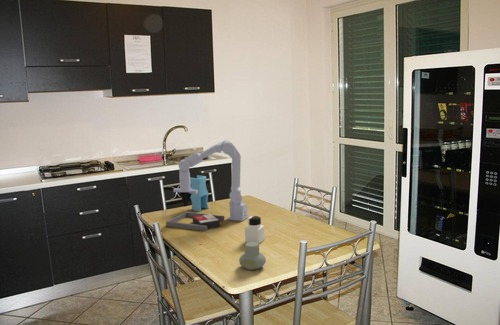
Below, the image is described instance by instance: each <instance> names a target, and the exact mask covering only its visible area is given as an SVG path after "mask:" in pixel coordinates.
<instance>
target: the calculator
mask: <svg viewBox="0 0 500 325" xmlns="http://www.w3.org/2000/svg"><path fill="white" fill-rule="evenodd" d="M208 214H209V213H208ZM212 215H213V214H212ZM212 215H211V214H209V215H203V216H195V217H192V224H196V225H204V226H207V230H209V229H212V228H213V229H215V228H220V227H221V220H218V219H217V218H216V217H214V216H212Z"/></svg>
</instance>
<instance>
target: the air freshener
mask: <svg viewBox="0 0 500 325" xmlns="http://www.w3.org/2000/svg"><path fill="white" fill-rule="evenodd" d="M266 259H267V258H266V256H265V255H264V254H263V253H262V252H260V243H259V244H258V243H257V242H248V243H247V242H245V244H244V253H243V254H241V255H240V256H239V260H238V261H239V262H238V263H239V265H240V266H241V267H243V268H244V269H246V270H249V271H254V270H257V269H261V268H262V267H263V266H264V265H265V264H266V262H267V260H266Z"/></svg>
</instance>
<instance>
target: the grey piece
mask: <svg viewBox="0 0 500 325" xmlns="http://www.w3.org/2000/svg"><path fill="white" fill-rule="evenodd" d="M203 215H209V213H200V212H191V211H184V212H183V213H181V214H179V215H176V216H175V217H173V218H171V219H169V220H166V222H165V223H166V224H165V226H166V227H172V228H178V229H179V228H180V229H188V230H195V231H201V232H202V231H203V232H207V231H208V229H207V226H204V225H196V224H194V223H186V222H179V221H182V220H183V219H184V218H185V219H186V218H194V217H195V216H203ZM211 215H212V216H214V217H216V218H217V219H218V220H220V221H221V222H222V221H223V222H224V221H225V215H220V214H211Z"/></svg>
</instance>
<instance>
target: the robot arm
mask: <svg viewBox="0 0 500 325" xmlns="http://www.w3.org/2000/svg"><path fill="white" fill-rule="evenodd" d="M215 153H217V154H218V153H219V154H221V153H224V154H225V155H228V156H229V157H230V158H231V187H230V192H229V195H228V197H229V199H230V201H229V203H228V204H229V217H227V220H230V221H236V222H237V221H239V222H243V221H245V220H246V219H248V218H249V217H248V206H247V204H246V203H243V196H242V195H241V194H242V193H241V159H242V158H241V154H240V152H239V151H238V149H237V147H236V146H235V145H234V144H233V143H232V142H231V141H229V140H223V141H221V142H218V143H216V144H214V145H212V146H211V147H209V148H207V149H205V150H204V151H202V152H193V153H192V154H191V155H189V156H187V157H186V156H185V157H184V159H181V160H180V161H179V163H178V171H179V174H178V176H179V187H177V188H176V187H175V188H173V193H179V196H180V198H181V200H182V203H183V206H184V207H188V206H189V204H190V200H191V195H192V194H197V193H198V190H195V189H191V182H190V178H191V174H190V168H192V167H194V166H197V165H199V164H201V163H202V162H203V159H205V158H207V157H210V156H212V155H213V154H215Z"/></svg>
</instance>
